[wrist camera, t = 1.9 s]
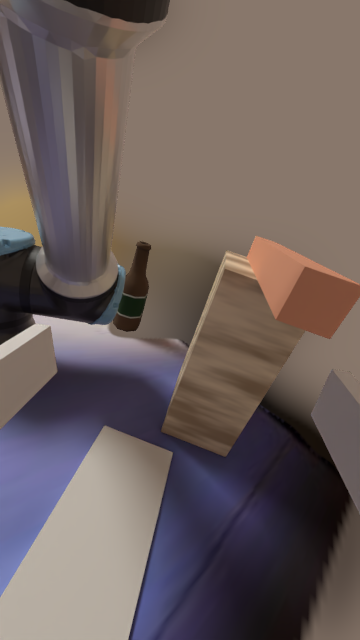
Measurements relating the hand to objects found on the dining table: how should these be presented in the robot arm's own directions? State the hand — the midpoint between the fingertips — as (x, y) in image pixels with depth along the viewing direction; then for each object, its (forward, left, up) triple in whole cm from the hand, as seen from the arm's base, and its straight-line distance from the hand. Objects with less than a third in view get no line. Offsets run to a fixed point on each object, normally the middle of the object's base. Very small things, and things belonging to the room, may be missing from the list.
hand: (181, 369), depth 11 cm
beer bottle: (-50, +13, -29) cm, 59 cm away
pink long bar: (-14, +19, +2) cm, 23 cm away
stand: (-19, +22, -28) cm, 41 cm away
